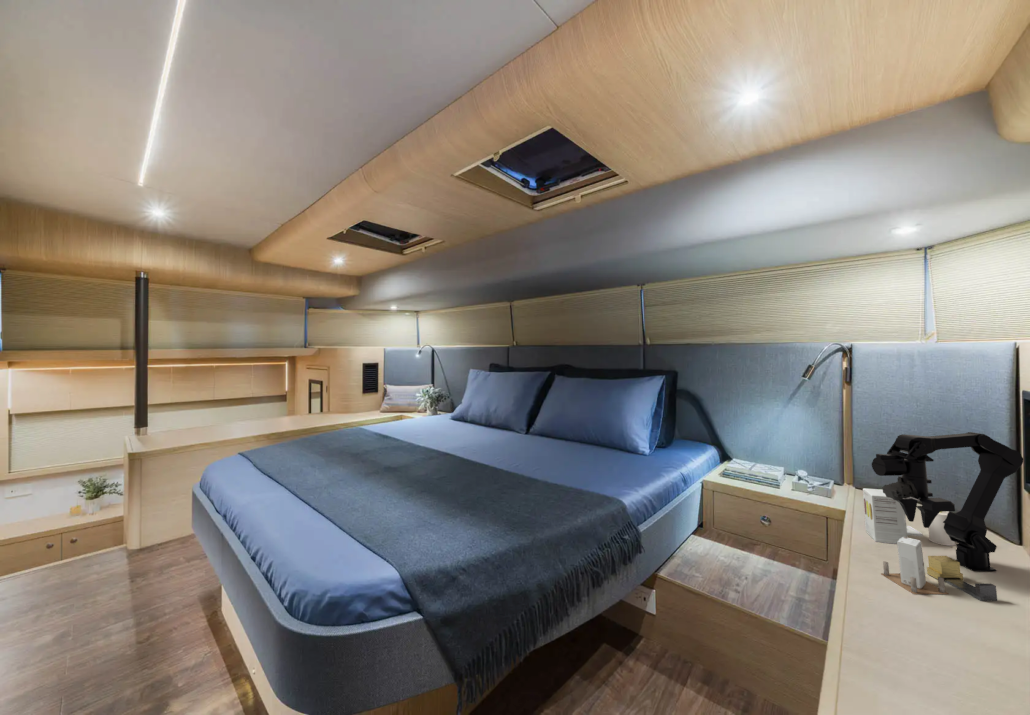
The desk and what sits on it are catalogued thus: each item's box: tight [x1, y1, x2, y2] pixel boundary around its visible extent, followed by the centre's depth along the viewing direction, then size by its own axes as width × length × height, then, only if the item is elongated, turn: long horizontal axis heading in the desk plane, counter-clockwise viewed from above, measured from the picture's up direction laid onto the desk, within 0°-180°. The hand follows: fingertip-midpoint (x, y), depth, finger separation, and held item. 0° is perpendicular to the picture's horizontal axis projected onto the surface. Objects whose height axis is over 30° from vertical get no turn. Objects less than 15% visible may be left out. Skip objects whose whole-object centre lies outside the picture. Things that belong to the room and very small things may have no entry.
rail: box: [944, 578, 998, 602], centre depth 113 cm, size 4×14×4 cm, turn 175°
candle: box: [927, 511, 956, 547], centre depth 141 cm, size 6×6×15 cm
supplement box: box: [862, 488, 908, 545], centre depth 145 cm, size 10×9×17 cm
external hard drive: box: [906, 525, 923, 537], centre depth 151 cm, size 2×8×12 cm
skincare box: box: [896, 536, 927, 589], centre depth 116 cm, size 6×4×12 cm
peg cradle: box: [880, 561, 950, 595], centre depth 116 cm, size 9×11×4 cm
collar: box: [926, 555, 964, 581], centre depth 118 cm, size 6×4×5 cm, turn 85°
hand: (918, 524), depth 126 cm, fingers open, 5 cm apart
